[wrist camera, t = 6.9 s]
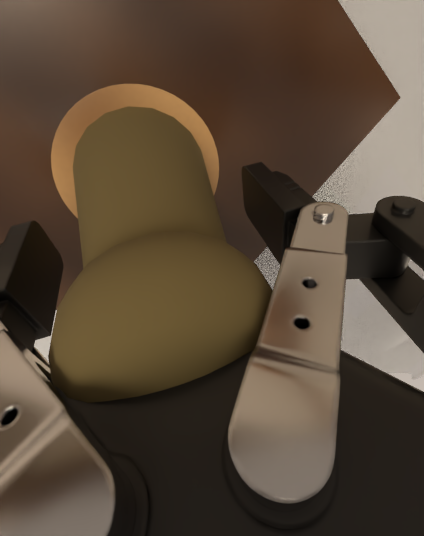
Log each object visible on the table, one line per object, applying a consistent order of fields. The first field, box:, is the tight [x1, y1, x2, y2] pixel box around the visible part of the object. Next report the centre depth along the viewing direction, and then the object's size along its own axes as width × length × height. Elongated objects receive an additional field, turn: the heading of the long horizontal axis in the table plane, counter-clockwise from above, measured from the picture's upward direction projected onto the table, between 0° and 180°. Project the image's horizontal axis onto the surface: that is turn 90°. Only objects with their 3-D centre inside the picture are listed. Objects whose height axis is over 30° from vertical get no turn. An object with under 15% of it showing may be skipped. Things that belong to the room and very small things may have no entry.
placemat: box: [0, 0, 400, 310], centre depth 14 cm, size 20×18×1 cm
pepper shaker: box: [48, 106, 273, 403], centre depth 9 cm, size 6×6×11 cm
